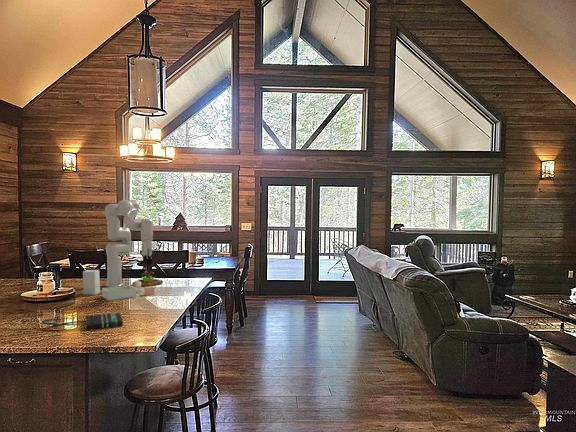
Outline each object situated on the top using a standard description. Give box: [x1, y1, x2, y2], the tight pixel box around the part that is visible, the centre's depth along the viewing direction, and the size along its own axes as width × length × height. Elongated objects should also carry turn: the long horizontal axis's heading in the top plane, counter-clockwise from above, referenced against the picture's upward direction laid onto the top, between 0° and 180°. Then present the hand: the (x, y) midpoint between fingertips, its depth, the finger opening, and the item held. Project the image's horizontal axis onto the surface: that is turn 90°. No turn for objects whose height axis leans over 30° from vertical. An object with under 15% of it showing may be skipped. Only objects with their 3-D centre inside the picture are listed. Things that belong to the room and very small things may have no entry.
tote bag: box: [41, 312, 124, 332], centre depth 201 cm, size 21×5×35 cm
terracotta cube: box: [143, 286, 155, 297], centre depth 270 cm, size 5×5×5 cm
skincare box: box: [82, 269, 101, 296], centre depth 270 cm, size 8×7×16 cm
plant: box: [131, 269, 164, 288], centre depth 304 cm, size 20×20×11 cm
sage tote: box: [101, 285, 137, 302], centre depth 262 cm, size 13×17×6 cm
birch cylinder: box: [132, 280, 142, 294], centre depth 277 cm, size 5×5×7 cm
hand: (147, 263), depth 268 cm, fingers open, 9 cm apart
